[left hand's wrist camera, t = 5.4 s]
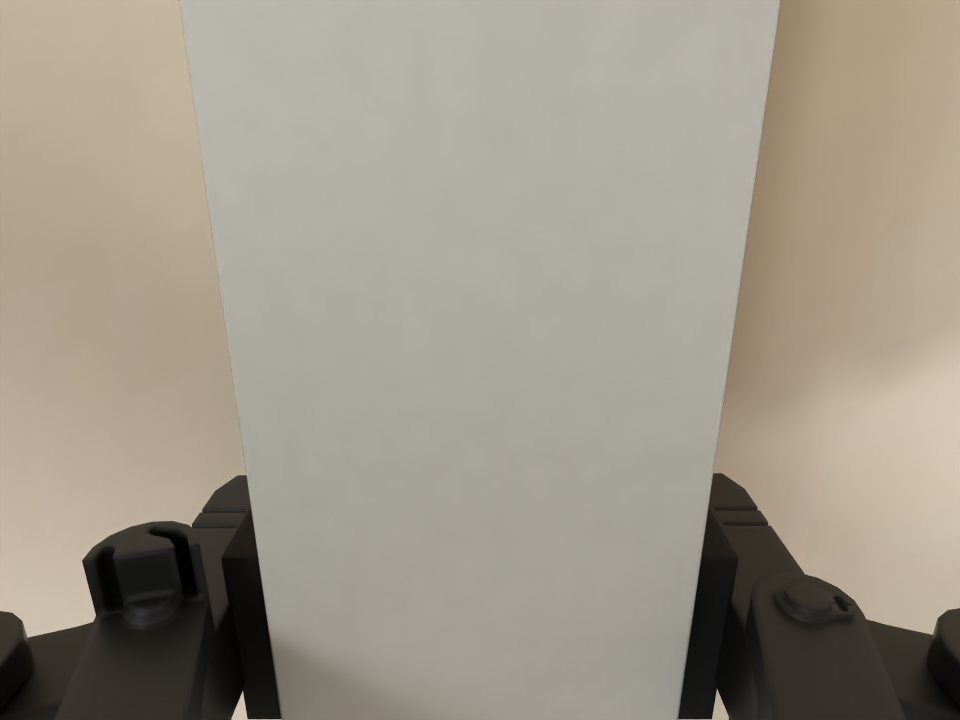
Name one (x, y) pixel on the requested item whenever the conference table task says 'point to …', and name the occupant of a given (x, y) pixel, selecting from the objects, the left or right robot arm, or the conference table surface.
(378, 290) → the bar
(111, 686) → the left robot arm
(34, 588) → the conference table surface
